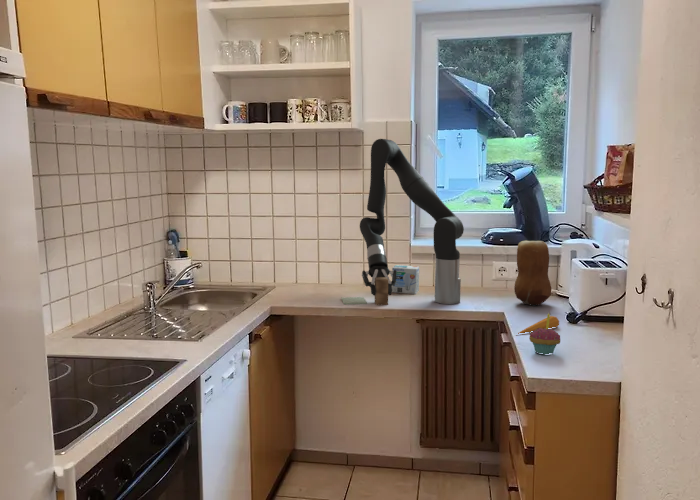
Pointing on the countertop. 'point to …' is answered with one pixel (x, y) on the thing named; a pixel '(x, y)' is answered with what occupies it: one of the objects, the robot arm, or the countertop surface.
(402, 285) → the light bulb box
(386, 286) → the walnut block
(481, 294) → the countertop surface
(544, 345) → the cupcake
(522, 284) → the butternut squash
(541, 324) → the carrot
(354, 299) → the coaster
